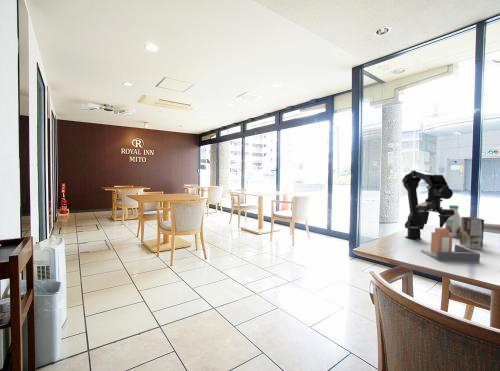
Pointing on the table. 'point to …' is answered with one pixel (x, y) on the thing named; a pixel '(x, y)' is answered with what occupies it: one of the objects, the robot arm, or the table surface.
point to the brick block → (441, 240)
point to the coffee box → (472, 232)
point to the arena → (455, 255)
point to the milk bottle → (453, 221)
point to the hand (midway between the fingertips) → (432, 225)
